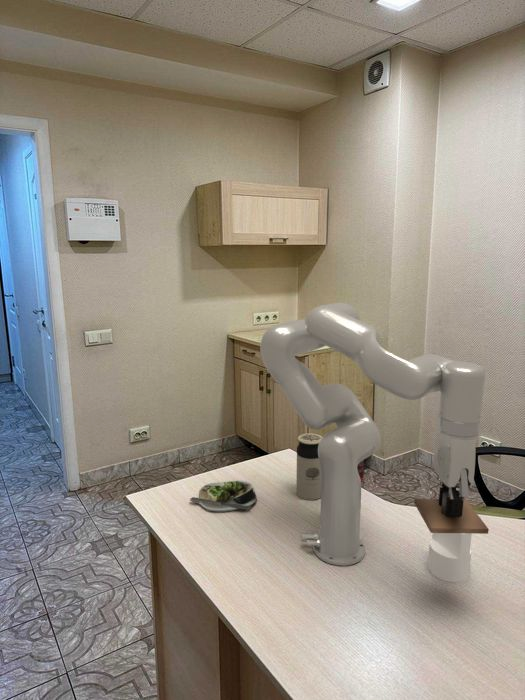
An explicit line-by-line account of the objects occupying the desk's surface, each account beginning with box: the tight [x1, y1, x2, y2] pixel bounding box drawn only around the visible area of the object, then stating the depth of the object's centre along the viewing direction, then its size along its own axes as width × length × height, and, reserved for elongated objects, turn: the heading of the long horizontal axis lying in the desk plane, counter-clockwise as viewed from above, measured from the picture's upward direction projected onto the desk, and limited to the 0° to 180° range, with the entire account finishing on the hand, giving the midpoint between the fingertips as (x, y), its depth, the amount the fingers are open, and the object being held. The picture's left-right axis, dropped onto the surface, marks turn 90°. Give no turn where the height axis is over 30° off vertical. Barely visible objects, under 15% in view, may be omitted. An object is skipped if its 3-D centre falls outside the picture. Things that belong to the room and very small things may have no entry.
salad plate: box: [189, 480, 258, 513], centre depth 145 cm, size 19×18×5 cm
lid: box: [413, 491, 489, 535], centre depth 100 cm, size 11×11×5 cm
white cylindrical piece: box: [427, 533, 473, 584], centre depth 113 cm, size 9×9×12 cm
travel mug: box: [295, 433, 323, 501], centre depth 147 cm, size 8×8×18 cm
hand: (449, 509), depth 100 cm, fingers closed on lid, 3 cm apart
